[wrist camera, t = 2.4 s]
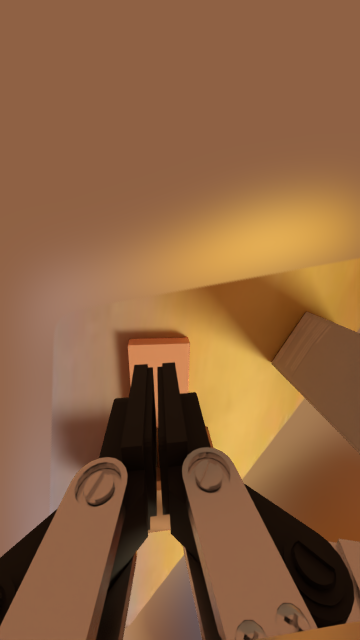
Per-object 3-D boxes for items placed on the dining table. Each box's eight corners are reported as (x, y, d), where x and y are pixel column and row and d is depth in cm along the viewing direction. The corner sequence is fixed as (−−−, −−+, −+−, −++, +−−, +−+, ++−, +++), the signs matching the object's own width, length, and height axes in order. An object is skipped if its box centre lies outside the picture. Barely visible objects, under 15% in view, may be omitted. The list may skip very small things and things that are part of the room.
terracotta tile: (185, 413, 32) (187, 425, 30) (135, 416, 31) (133, 429, 29) (187, 335, 28) (189, 343, 26) (129, 337, 27) (127, 345, 25)
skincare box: (304, 379, 32) (435, 502, 17) (264, 359, 30) (371, 478, 15) (344, 328, 30) (534, 419, 15) (303, 304, 28) (474, 379, 13)
